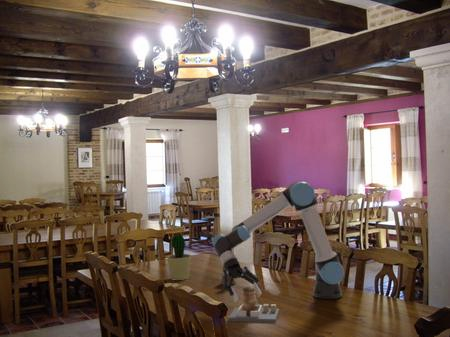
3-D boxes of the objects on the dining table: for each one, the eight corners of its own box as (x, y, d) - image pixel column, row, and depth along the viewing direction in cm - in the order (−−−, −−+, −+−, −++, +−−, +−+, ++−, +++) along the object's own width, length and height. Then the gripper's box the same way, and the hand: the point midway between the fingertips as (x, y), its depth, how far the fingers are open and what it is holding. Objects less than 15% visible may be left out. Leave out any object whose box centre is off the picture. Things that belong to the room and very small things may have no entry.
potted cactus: (193, 275, 322) (191, 230, 321) (189, 281, 306) (187, 234, 306) (170, 276, 323) (169, 231, 323) (165, 281, 308) (163, 234, 308)
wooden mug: (228, 287, 286) (227, 257, 286) (218, 283, 299) (217, 254, 298) (241, 285, 290) (240, 255, 290) (231, 281, 303) (230, 252, 302)
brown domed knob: (257, 311, 234) (256, 286, 234) (255, 315, 227) (254, 290, 227) (244, 310, 235) (243, 286, 235) (241, 315, 229) (240, 289, 229)
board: (279, 311, 236) (278, 302, 236) (275, 322, 221) (275, 312, 221) (235, 310, 241) (234, 301, 241) (228, 321, 225) (228, 311, 225)
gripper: (247, 262, 253) (266, 297, 240) (206, 270, 239) (224, 307, 227) (252, 253, 248) (272, 288, 236) (211, 261, 234) (229, 298, 222)
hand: (248, 297), depth 231 cm, fingers open, 13 cm apart
